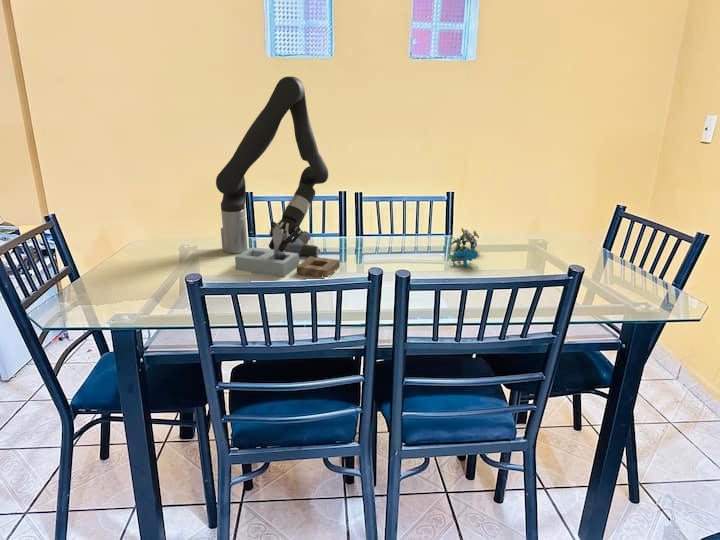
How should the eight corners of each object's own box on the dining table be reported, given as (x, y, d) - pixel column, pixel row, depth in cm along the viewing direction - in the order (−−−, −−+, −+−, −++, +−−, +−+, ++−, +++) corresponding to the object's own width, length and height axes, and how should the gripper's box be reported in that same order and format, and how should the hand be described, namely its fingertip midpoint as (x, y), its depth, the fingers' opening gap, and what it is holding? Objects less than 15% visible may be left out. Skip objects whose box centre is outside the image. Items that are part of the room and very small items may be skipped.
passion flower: (471, 263, 208) (482, 246, 199) (447, 258, 208) (456, 241, 198) (471, 242, 215) (481, 225, 205) (447, 237, 214) (456, 220, 204)
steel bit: (272, 265, 181) (270, 229, 176) (277, 262, 184) (275, 226, 179) (282, 267, 180) (280, 230, 175) (287, 263, 183) (285, 227, 178)
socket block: (296, 274, 178) (296, 266, 177) (310, 263, 189) (310, 256, 188) (327, 278, 175) (327, 271, 174) (339, 267, 185) (339, 260, 184)
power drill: (333, 244, 212) (318, 260, 194) (293, 240, 217) (274, 255, 199) (333, 233, 210) (317, 247, 192) (292, 229, 215) (273, 242, 197)
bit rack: (235, 269, 182) (234, 256, 180) (252, 259, 192) (252, 247, 191) (284, 276, 176) (283, 263, 174) (299, 265, 186) (298, 253, 185)
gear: (477, 257, 194) (478, 246, 185) (478, 271, 191) (479, 260, 182) (449, 259, 195) (448, 248, 187) (450, 273, 193) (449, 262, 184)
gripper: (277, 202, 184) (255, 240, 179) (306, 207, 176) (284, 248, 171) (287, 213, 190) (266, 250, 185) (315, 218, 182) (295, 258, 177)
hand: (275, 249), depth 178 cm, fingers closed on steel bit, 4 cm apart
